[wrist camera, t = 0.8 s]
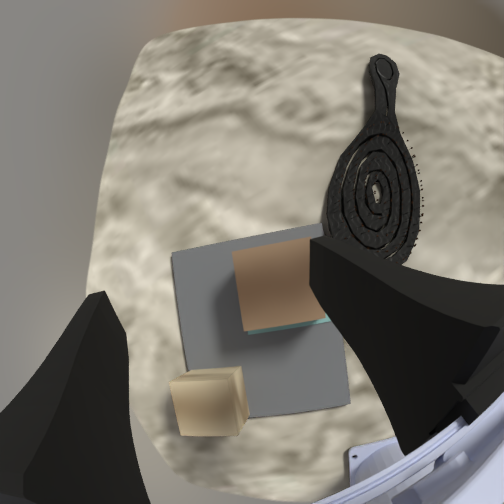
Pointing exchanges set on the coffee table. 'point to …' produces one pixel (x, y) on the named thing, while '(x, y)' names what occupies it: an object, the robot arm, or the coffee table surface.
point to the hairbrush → (377, 179)
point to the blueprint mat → (257, 334)
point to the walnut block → (275, 285)
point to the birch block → (210, 402)
